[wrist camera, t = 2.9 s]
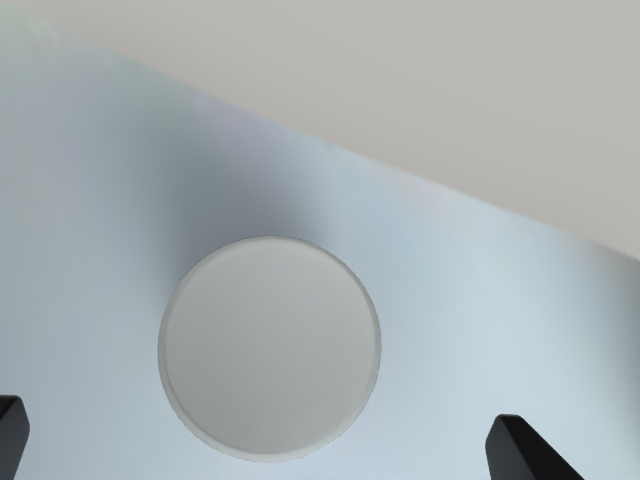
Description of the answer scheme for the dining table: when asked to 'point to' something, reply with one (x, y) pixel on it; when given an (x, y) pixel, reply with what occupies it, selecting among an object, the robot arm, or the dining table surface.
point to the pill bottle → (269, 349)
